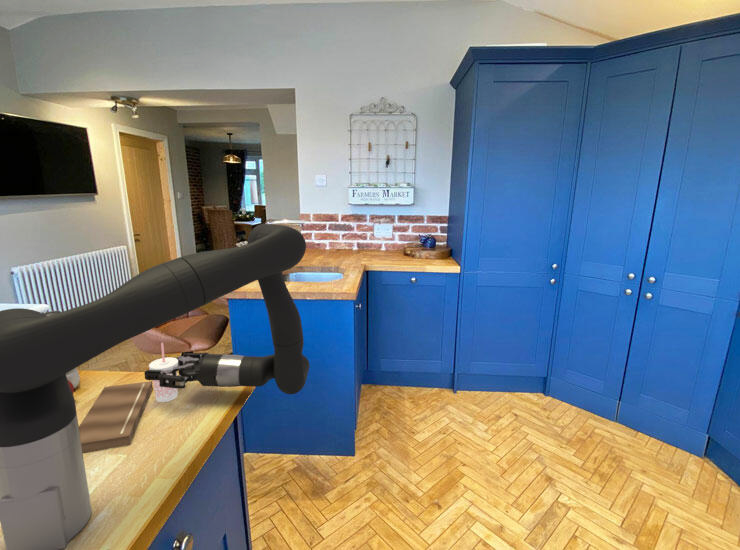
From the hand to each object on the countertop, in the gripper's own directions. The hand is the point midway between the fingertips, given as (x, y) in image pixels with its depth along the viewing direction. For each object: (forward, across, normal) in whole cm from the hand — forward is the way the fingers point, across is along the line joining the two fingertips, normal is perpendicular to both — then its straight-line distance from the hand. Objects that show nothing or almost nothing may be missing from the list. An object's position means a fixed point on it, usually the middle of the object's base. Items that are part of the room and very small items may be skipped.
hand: (154, 368), depth 86 cm
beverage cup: (-2, 0, +8) cm, 8 cm away
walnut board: (+1, +7, +8) cm, 10 cm away
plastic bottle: (+24, -2, +8) cm, 25 cm away
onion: (+19, +5, +8) cm, 21 cm away
